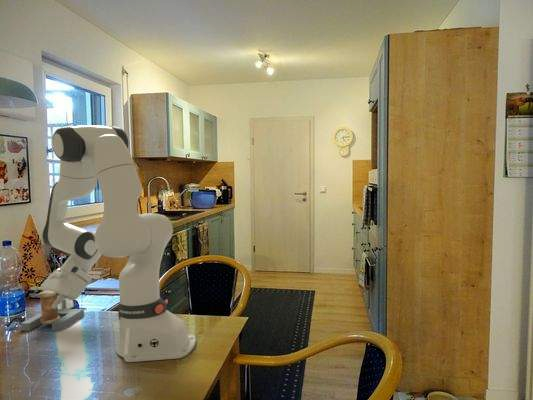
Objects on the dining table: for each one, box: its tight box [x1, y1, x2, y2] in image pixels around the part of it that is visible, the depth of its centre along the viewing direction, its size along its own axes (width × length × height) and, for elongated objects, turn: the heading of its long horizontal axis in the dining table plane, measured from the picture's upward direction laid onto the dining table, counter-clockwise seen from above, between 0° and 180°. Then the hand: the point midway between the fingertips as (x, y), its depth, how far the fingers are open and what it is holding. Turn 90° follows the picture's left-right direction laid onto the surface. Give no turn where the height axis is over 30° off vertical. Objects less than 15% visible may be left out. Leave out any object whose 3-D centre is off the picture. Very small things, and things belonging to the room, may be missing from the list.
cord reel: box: [38, 290, 60, 325], centre depth 135 cm, size 6×6×10 cm
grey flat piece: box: [20, 308, 85, 332], centre depth 137 cm, size 14×14×2 cm
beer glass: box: [52, 268, 75, 309], centre depth 153 cm, size 7×7×15 cm
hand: (47, 306), depth 134 cm, fingers closed on cord reel, 5 cm apart
